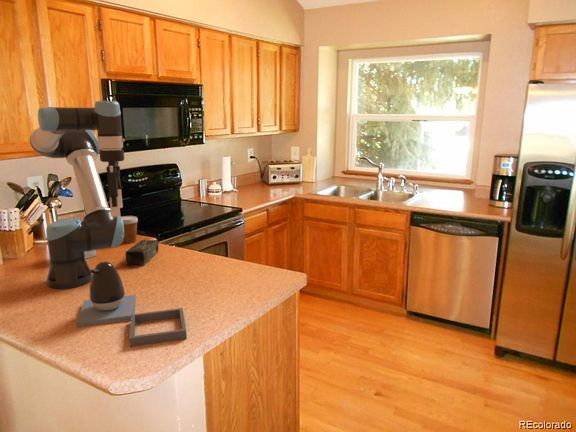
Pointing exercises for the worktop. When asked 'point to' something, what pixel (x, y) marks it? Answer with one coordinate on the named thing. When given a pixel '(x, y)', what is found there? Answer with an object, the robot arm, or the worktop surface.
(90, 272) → the robot arm
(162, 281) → the worktop surface
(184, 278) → the worktop surface
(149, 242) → the beverage carton
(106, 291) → the dark brown egg shape
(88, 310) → the slate-blue board
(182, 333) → the gray open frame
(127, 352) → the worktop surface
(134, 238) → the disposable coffee cup
